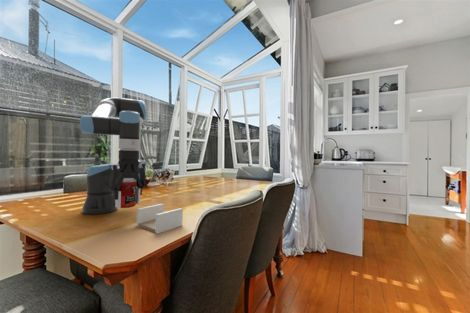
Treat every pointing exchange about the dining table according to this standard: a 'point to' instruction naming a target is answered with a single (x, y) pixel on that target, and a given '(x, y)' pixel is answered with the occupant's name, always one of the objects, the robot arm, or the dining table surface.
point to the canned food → (128, 192)
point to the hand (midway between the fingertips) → (128, 205)
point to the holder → (158, 218)
